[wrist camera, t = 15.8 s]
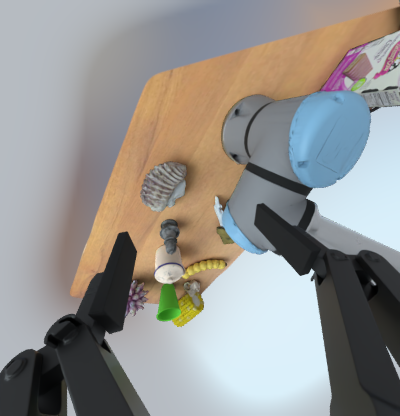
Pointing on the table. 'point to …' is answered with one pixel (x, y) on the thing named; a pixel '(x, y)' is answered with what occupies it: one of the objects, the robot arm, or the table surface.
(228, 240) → the stone
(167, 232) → the grey carved upright piece
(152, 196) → the grey ridged fossil rock
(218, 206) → the decorative object
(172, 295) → the cup
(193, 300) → the food
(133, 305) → the flower
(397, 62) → the candy bar box
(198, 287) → the ornament
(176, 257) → the teacup with lid
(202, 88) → the table surface
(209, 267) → the yellow segmented curved bar
